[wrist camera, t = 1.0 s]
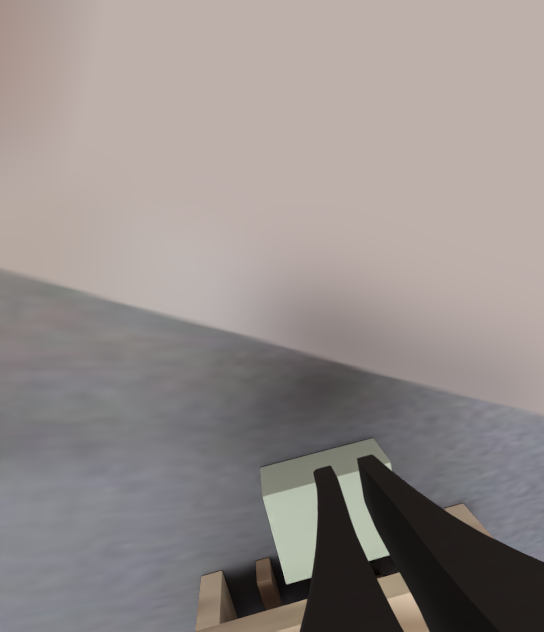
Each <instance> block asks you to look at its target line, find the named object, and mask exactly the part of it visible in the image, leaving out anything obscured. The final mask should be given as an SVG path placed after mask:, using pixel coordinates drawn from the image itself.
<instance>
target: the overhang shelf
mask: <svg viewBox="0 0 544 632" xmlns="http://www.w3.org/2000/svg"><path fill="white" fill-rule="evenodd" d="M444 510H445V511H447V512H448V513H450V514H451V515H453V516H455V517H456V518H458V519H459V520H461V521H463V522H464V523H466V524H468V525H470V526H471V527H473V528H475V529H477V530H478V531H480V532H482V533H484V534H485V535H487V536H489V537H491V538H493V537H492V536H491V535H490V534H489V533H488V531H487V530H486V529H485V528H484V527H483V526H482V525H481V523H480V522H479V521H478V520H477V519H476V518H475V517H474V515H473V514H472V513H471V512H470V511H469V510H468V508H467V507H466V506H465V505H464V504H459V505H455V506H452V507H448V508H445V509H444ZM493 539H494V538H493ZM256 575H257V585H258V588H259V591H260V595H261V598H262V601H263V605H264V608H265V611H264V612H260V613H257V614H253V615H250V616H246V617H243V618H239V619H238V618H237V615H236V612H235V609H234V606H233V603H232V600H231V597H230V593H229V590H228V587H227V584H226V581H225V578H224V575H223V572H222V571H219V572H215V573H212V574H208V575H204V576H201V585H200V594H199V603H198V612H197V621H196V630H195V632H300V628H301V624H302V620H303V616H304V612H305V607H306V603H307V599H305V600H302V601H298V602H295V603H291V604H288V605H285V606H282V602H281V598H280V594H279V591H278V587H277V584H276V580H275V577H274V573H273V569H272V566H271V562H270V559H269V558H265V559H262V560H258V561H256ZM376 578H377V580H378V582H379V584H380V586H381V588H382V590H383V592H384V594H385V596H386V598H387V600H388V602H389V604H390V606H391V608H392V610H393V612H394V614H395V616H396V618H397V620H398V622H399V623H400V625H401V627H402V629H403V631H404V632H429V630H428V627H427V625H426V623H425V621H424V619H423V616H422V614H421V612H420V610H419V608H418V606H417V604H416V602H415V600H414V598H413V596H412V594H411V593H410V591H409V589H408V587H407V585H406V583H405V582H404V580H403V578H402V576H401V574H400V572H399V573H396V574H392V575H389V576H385V577H383V575H382V574H380V575H377V576H376ZM307 597H308V595H307Z"/></svg>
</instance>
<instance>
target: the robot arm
mask: <svg viewBox="0 0 544 632" xmlns="http://www.w3.org/2000/svg"><path fill="white" fill-rule="evenodd" d="M357 463H358V468H359V474H360V480H361V485H362V491H363V497H364V502H365V504H366V507H367V509H368V512H369V514H370V516H371V519H372V521H373V523H374V526H375V528H376V530H377V532H378V534H379V536H380V538H381V539H382V541H383V543H384V545H385V547H386V549H387V551H388V552H389V554H390V556H391V558H392V560H393V561H394V563H395V565H396V567H397V569H398V571H399V572H400V574H401V576H402V578H403V580H404V582H405V583H406V585H407V587H408V589H409V591H410V593H411V594H412V596H413V598H414V600H415V602H416V604H417V606H418V608H419V610H420V612H421V614H422V616H423V619H424V621H425V623H426V625H427V627H428V630H429V632H544V562H542V561H540V560H537V559H535V558H533V557H531V556H528V555H526V554H524V553H522V552H520V551H517V550H515V549H513V548H511V547H509V546H507V545H505V544H503V543H501V542H499V541H497V540H495V539H493V538H491V537H489V536H487V535H485V534H484V533H482V532H480V531H478V530H477V529H475V528H473V527H471V526H470V525H468V524H466V523H464V522H463V521H461V520H459V519H458V518H456V517H455V516H453V515H451V514H450V513H448V512H447V511H445V510H444V509H442V508H441V507H439V506H438V505H436V504H435V503H433V502H432V501H431V500H429V499H428V498H426V497H425V496H424V495H422V494H421V493H419V492H418V491H417V490H416V489H414V488H413V487H412V486H410V485H409V484H408V483H406V482H405V481H404V480H403V479H401V478H400V477H399V476H398V475H396V474H395V473H394V472H393V471H392V470H390V469H389V468H388V467H387V466H386V465H384V464H383V463H382V462H381V461H380V460H379V459H378V458H376V457H375V456H374V455H372V454H371V455H367V456H363V457H360V458H357ZM313 474H314V479H315V483H316V488H317V511H318V518H317V536H316V548H315V557H314V564H313V571H312V577H311V583H310V588H309V594H308V599H307V603H306V607H305V612H304V616H303V620H302V624H301V628H300V632H404V631H403V629H402V627H401V625H400V623H399V622H398V620H397V618H396V616H395V614H394V612H393V610H392V608H391V606H390V604H389V602H388V600H387V598H386V596H385V594H384V592H383V590H382V588H381V586H380V584H379V582H378V580H377V578H376V576H375V574H374V572H373V569H372V567H371V565H370V563H369V561H368V559H367V557H366V555H365V552H364V550H363V548H362V546H361V544H360V542H359V539H358V537H357V535H356V532H355V529H354V527H353V524H352V521H351V518H350V515H349V512H348V508H347V505H346V502H345V499H344V496H343V493H342V490H341V487H340V484H339V480H338V478H337V476H336V474H335V472H334V470H333V468H332V467H331V465H330V466H326V467H322V468H318V469H315V471H314V472H313Z"/></svg>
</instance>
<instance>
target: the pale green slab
mask: <svg viewBox="0 0 544 632" xmlns="http://www.w3.org/2000/svg"><path fill="white" fill-rule="evenodd" d="M371 454H372V455H374V456H375V457H376V458H378V459H379V460H380V461H381V462H382V463H383V464H384V465H386V466H387V467H388V468H389V469H390V470H392V469H391V462H390V461H389V459H388V458H387V457H386V455H385V454H384V452H383V451H382V449H381V448H380V447H379V445H378V444H377V442H376V441H375V440H374V438H371V439H367V440H364V441H360V442H356V443H352V444H348V445H345V446H341V447H337V448H333V449H329V450H326V451H322V452H318V453H314V454H310V455H307V456H303V457H299V458H295V459H291V460H288V461H284V462H280V463H276V464H272V465H269V466H265V467H261V468H260V475H261V486H262V496H263V500H264V504H265V508H266V511H267V515H268V519H269V522H270V526H271V530H272V534H273V537H274V541H275V545H276V548H277V552H278V556H279V560H280V563H281V567H282V571H283V574H284V578H285V582H286V584H290V583H293V582H297V581H300V580H304V579H307V578H311V577H312V571H313V564H314V557H315V548H316V536H317V518H318V511H317V488H316V483H315V479H314V474H313V472H314V471H315V469H318V468H322V467H326V466H330V465H331V467H332V468H333V470H334V472H335V474H336V476H337V478H338V480H339V484H340V487H341V490H342V493H343V496H344V499H345V502H346V505H347V508H348V512H349V515H350V518H351V521H352V524H353V527H354V529H355V532H356V535H357V537H358V539H359V542H360V544H361V546H362V548H363V550H364V552H365V555H366V557H367V559H368V561H371V560H374V559H378V558H381V557H385V556H388V555H390V554H389V552H388V551H387V549H386V547H385V545H384V543H383V541H382V539H381V538H380V536H379V534H378V532H377V530H376V528H375V526H374V523H373V521H372V519H371V516H370V514H369V512H368V509H367V507H366V504H365V502H364V497H363V491H362V485H361V480H360V474H359V468H358V463H357V458H360V457H363V456H367V455H371Z"/></svg>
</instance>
